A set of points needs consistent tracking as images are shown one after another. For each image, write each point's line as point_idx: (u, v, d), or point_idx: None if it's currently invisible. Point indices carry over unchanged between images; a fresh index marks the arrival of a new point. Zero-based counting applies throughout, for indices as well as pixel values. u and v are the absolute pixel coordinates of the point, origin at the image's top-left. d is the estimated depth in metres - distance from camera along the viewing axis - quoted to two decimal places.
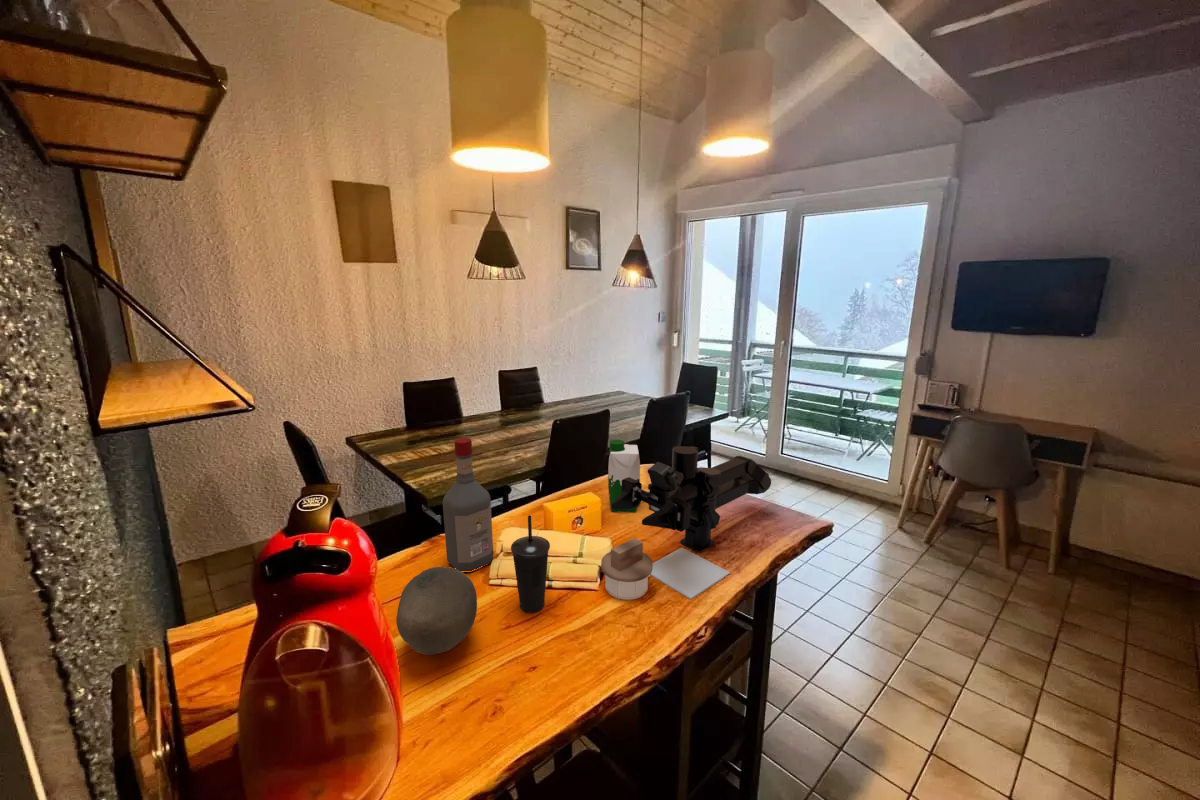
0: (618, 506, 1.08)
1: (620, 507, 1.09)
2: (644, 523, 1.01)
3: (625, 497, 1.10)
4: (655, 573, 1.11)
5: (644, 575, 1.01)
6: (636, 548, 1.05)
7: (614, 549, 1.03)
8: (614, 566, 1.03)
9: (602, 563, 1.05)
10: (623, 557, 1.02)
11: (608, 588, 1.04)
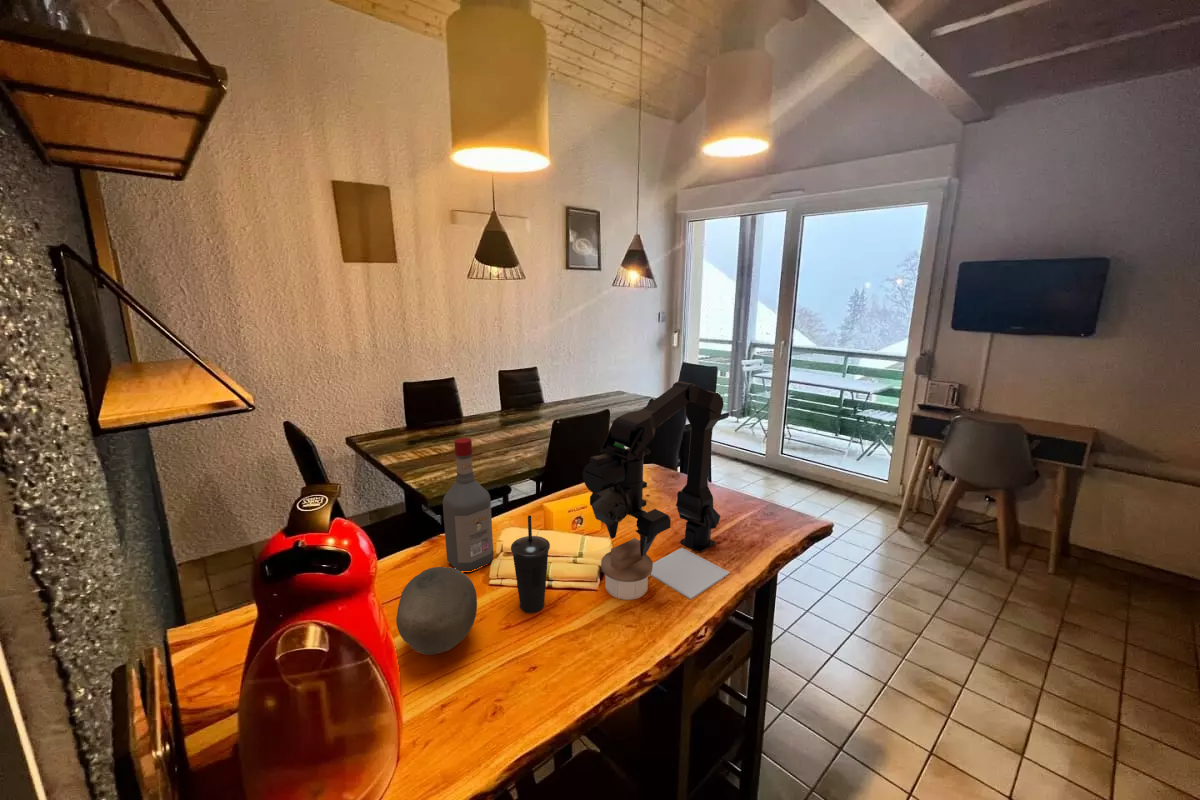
0: (614, 530, 1.07)
1: (616, 526, 1.08)
2: (645, 554, 1.01)
3: None
4: (655, 573, 1.11)
5: (644, 575, 1.01)
6: (636, 548, 1.05)
7: (614, 549, 1.03)
8: (614, 566, 1.03)
9: (602, 563, 1.05)
10: (623, 557, 1.02)
11: (608, 588, 1.04)
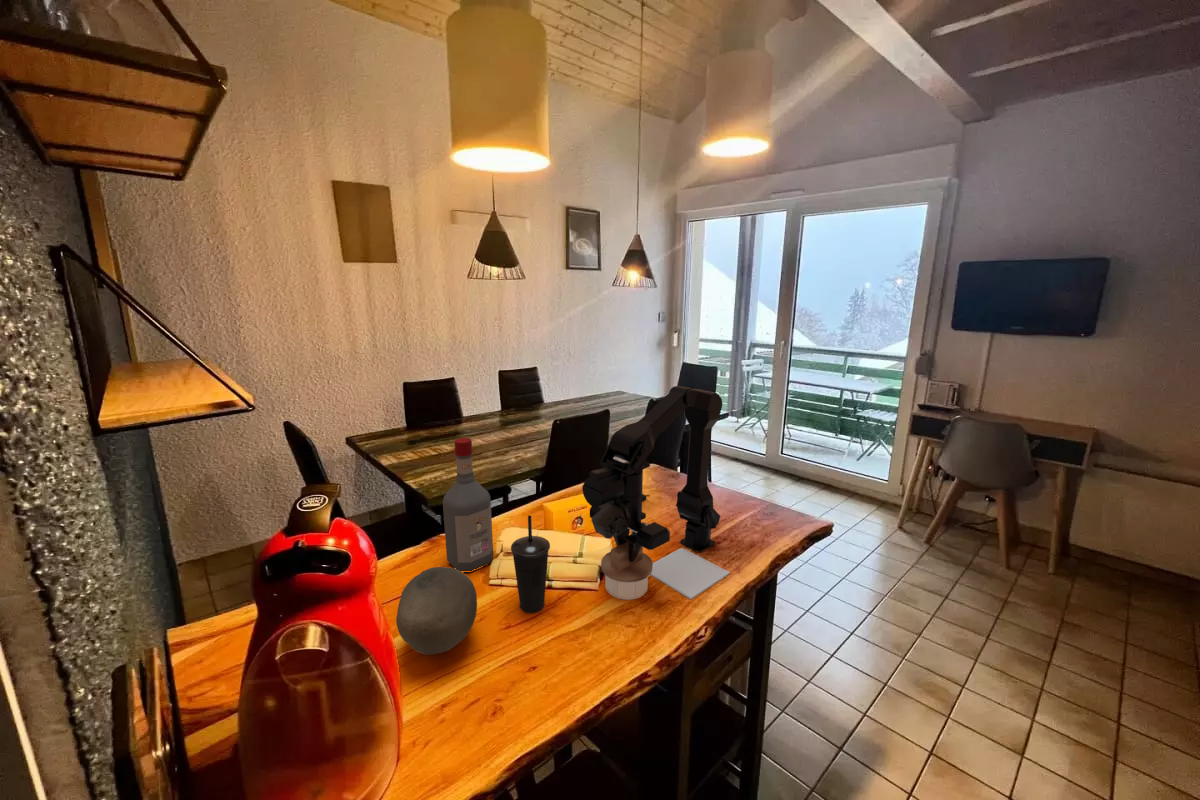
0: None
1: None
2: (633, 560, 1.04)
3: (619, 539, 1.05)
4: (655, 573, 1.11)
5: (644, 575, 1.01)
6: None
7: (614, 549, 1.03)
8: (614, 566, 1.03)
9: (602, 563, 1.05)
10: (623, 557, 1.02)
11: (608, 588, 1.04)
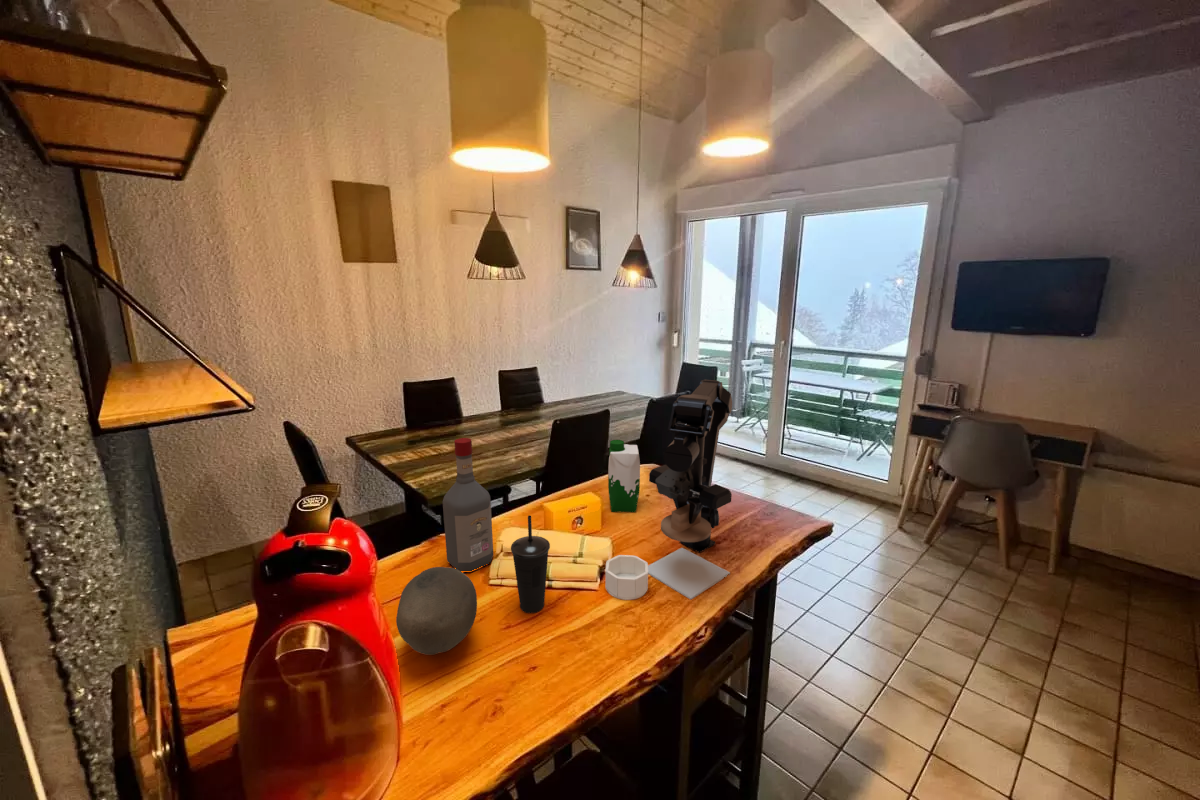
0: None
1: None
2: (693, 522, 1.08)
3: (679, 502, 1.08)
4: (655, 573, 1.11)
5: (704, 536, 1.05)
6: None
7: (675, 511, 1.07)
8: (674, 528, 1.07)
9: (662, 525, 1.09)
10: (684, 519, 1.06)
11: (608, 588, 1.04)
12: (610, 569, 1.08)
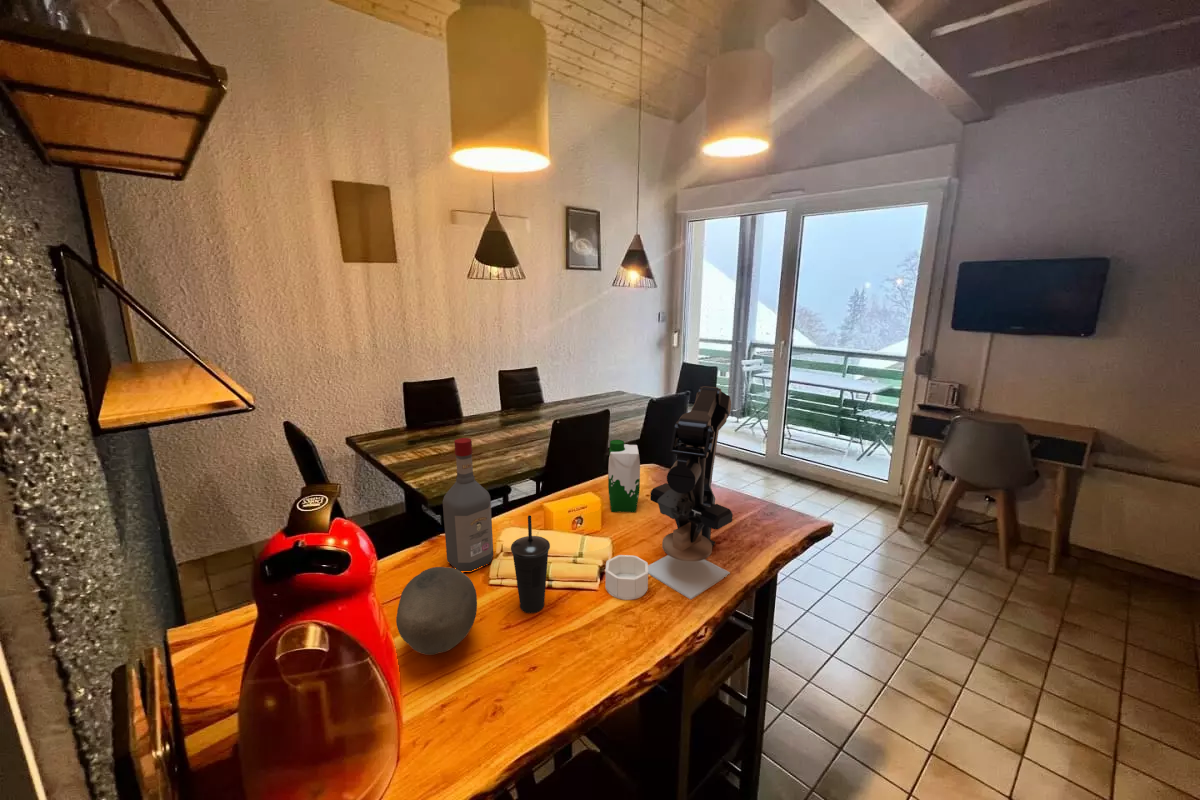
0: None
1: None
2: (694, 540, 1.09)
3: (680, 521, 1.10)
4: (655, 573, 1.11)
5: (706, 555, 1.06)
6: None
7: (676, 530, 1.08)
8: (676, 547, 1.08)
9: (664, 544, 1.10)
10: (685, 538, 1.07)
11: (608, 588, 1.04)
12: (610, 569, 1.08)
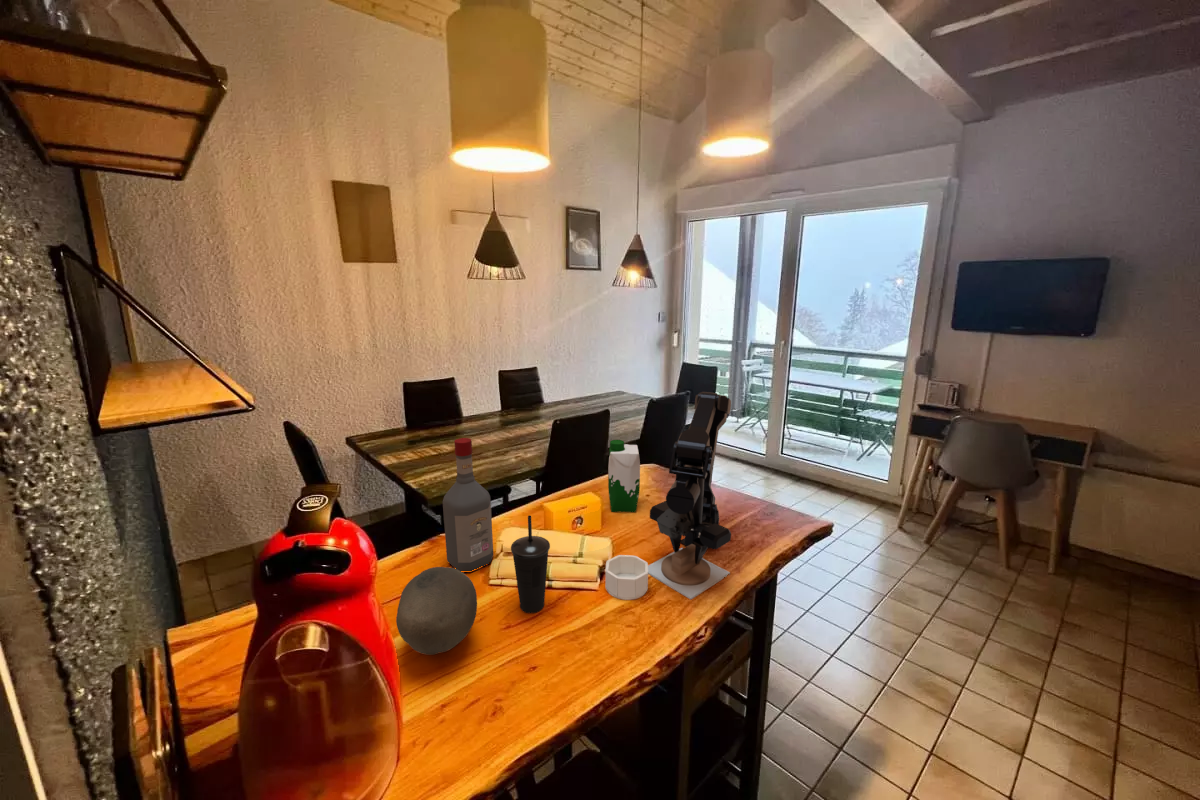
0: (678, 545, 1.13)
1: (679, 541, 1.13)
2: (698, 562, 1.09)
3: None
4: (655, 573, 1.11)
5: (704, 579, 1.08)
6: None
7: (675, 554, 1.09)
8: (675, 570, 1.09)
9: (662, 567, 1.11)
10: (684, 562, 1.09)
11: (608, 588, 1.04)
12: (610, 569, 1.08)
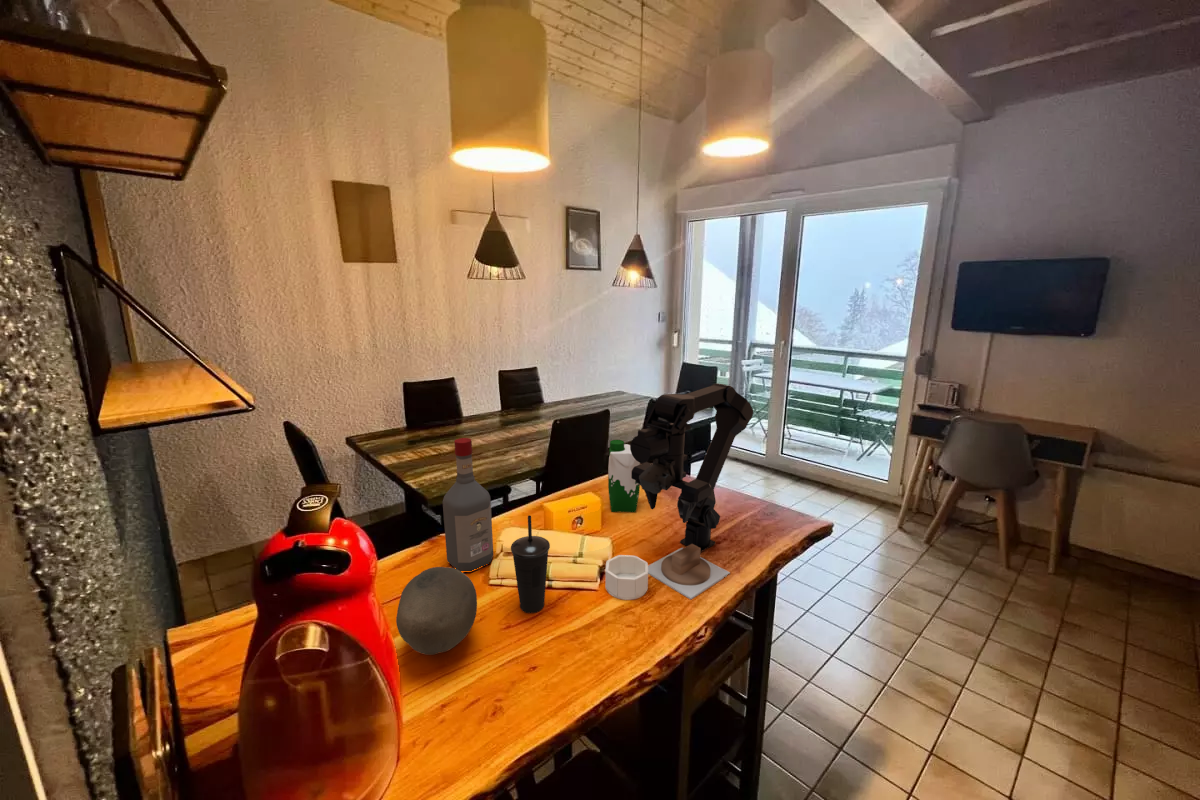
0: (654, 501, 1.16)
1: (655, 497, 1.16)
2: (686, 521, 1.10)
3: (650, 493, 1.15)
4: (655, 573, 1.11)
5: (704, 579, 1.08)
6: (695, 553, 1.11)
7: (675, 554, 1.09)
8: (675, 570, 1.09)
9: (662, 567, 1.11)
10: (684, 562, 1.09)
11: (608, 588, 1.04)
12: (610, 569, 1.08)
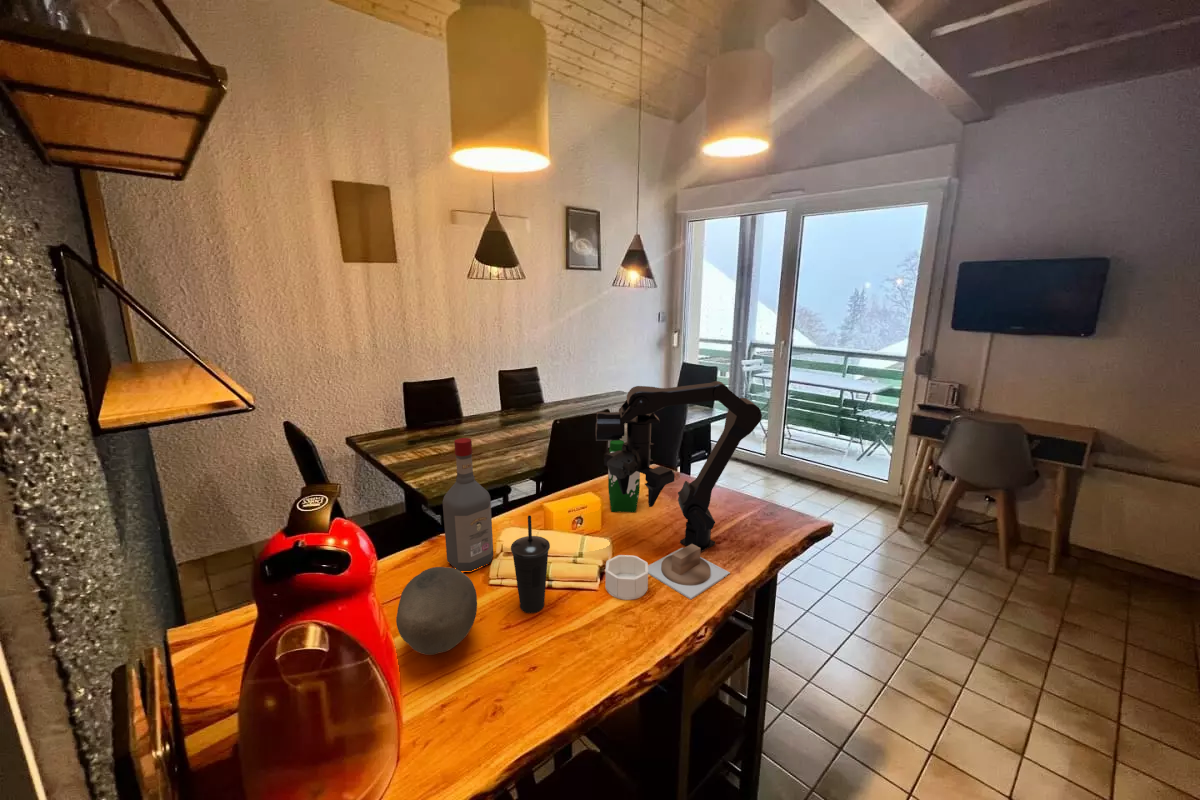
0: (625, 487, 1.24)
1: (627, 484, 1.24)
2: (652, 505, 1.17)
3: (621, 479, 1.23)
4: (655, 573, 1.11)
5: (704, 579, 1.08)
6: (695, 553, 1.11)
7: (675, 554, 1.09)
8: (675, 570, 1.09)
9: (662, 567, 1.11)
10: (684, 562, 1.09)
11: (608, 588, 1.04)
12: (610, 569, 1.08)
